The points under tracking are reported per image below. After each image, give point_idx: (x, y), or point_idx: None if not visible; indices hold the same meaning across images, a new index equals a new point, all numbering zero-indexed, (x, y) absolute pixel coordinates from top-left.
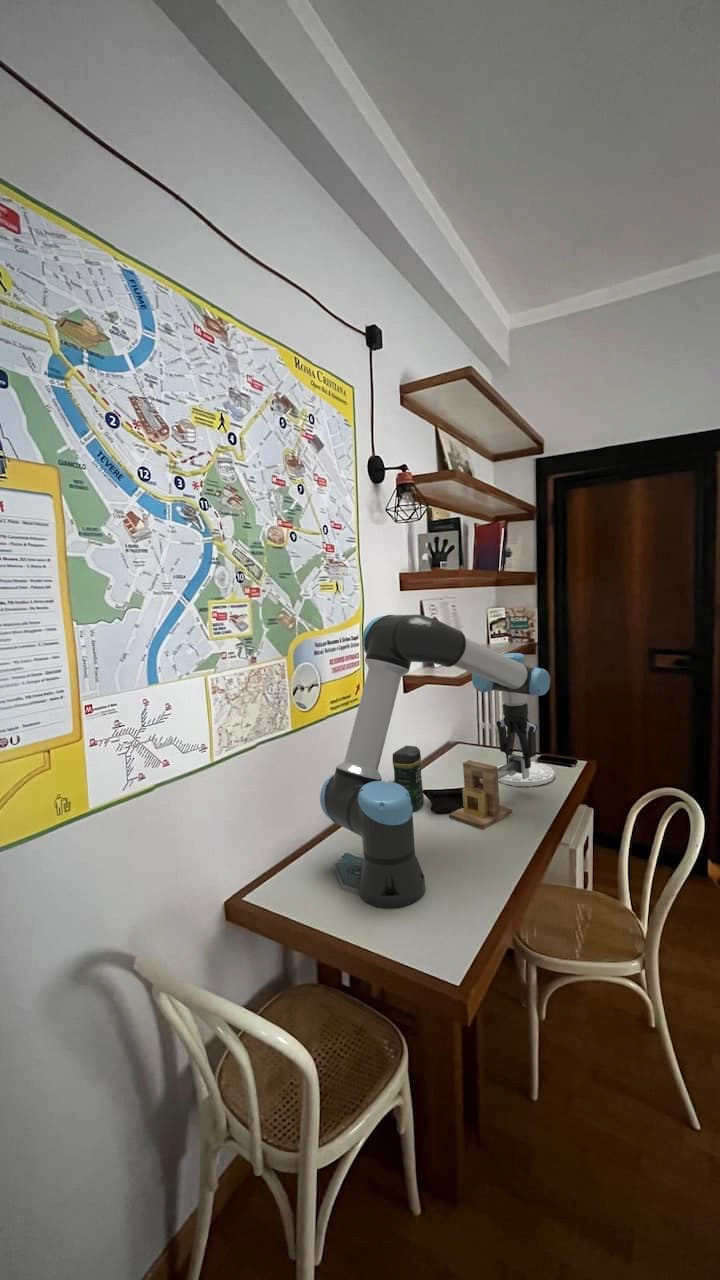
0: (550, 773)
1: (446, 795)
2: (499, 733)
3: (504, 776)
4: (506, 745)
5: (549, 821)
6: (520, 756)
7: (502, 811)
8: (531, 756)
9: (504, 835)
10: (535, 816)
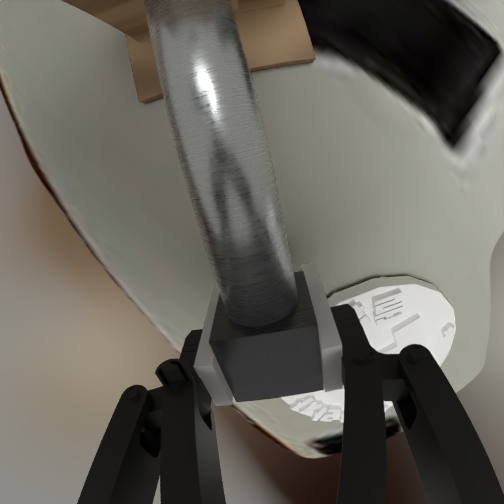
0: (294, 403)
1: (443, 48)
2: (488, 480)
3: (394, 296)
4: (379, 416)
5: (49, 171)
6: (282, 391)
7: (146, 57)
8: (125, 393)
9: (62, 13)
10: (87, 157)
